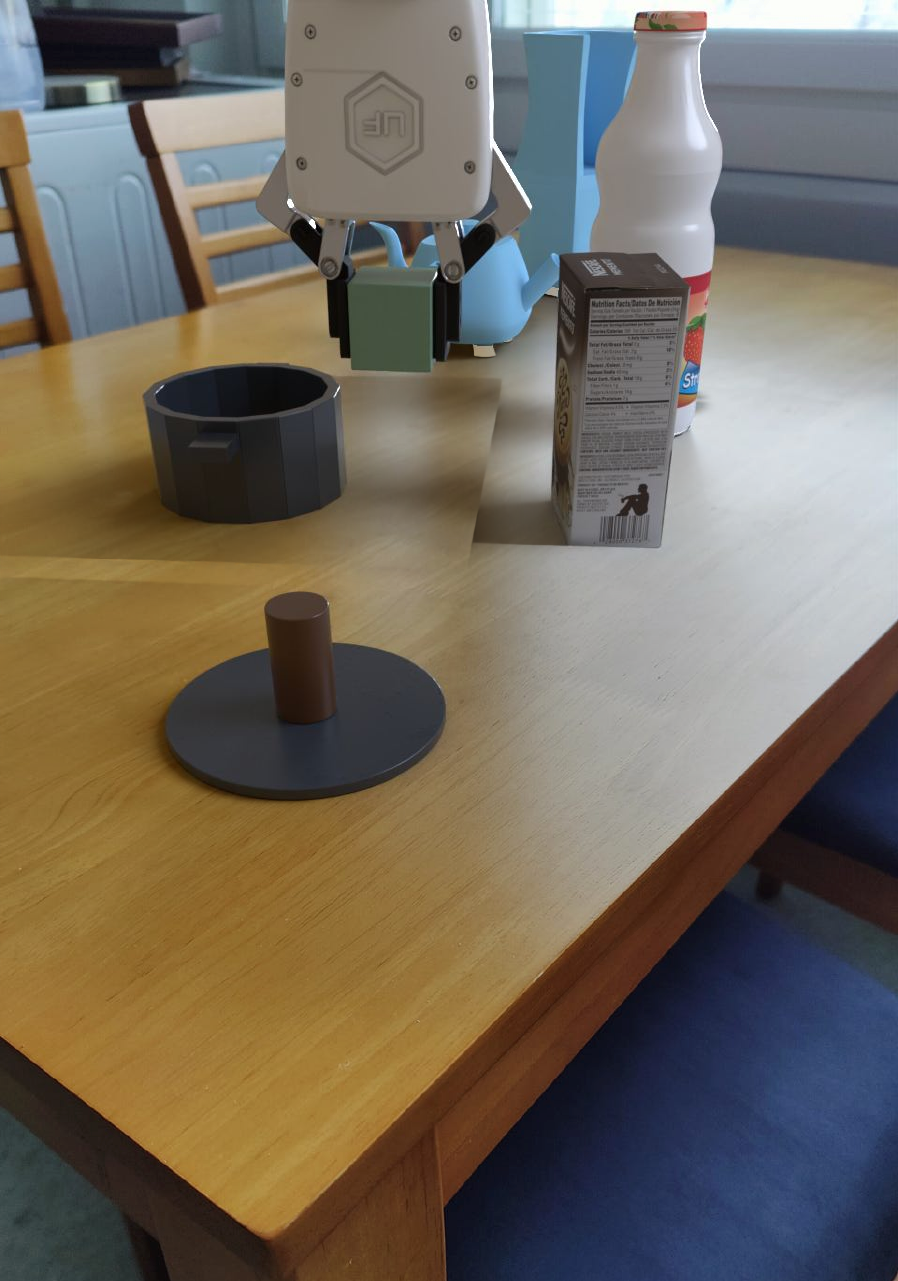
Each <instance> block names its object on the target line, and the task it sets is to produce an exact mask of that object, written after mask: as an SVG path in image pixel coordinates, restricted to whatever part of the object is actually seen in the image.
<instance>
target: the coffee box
mask: <svg viewBox="0 0 898 1281" xmlns="http://www.w3.org/2000/svg"><path fill="white" fill-rule="evenodd" d="M559 260H560V263H559V290H558V297H557V319H556V320H557V323H556V324H557V325H556V343H555V344H556V347H555V348H556V350H555V351H556V352H555V376H554V405H553V406H554V408H553V428H552V449H551V450H552V453H551V480H550V482H551V483H550V485H551V486H550V501H551V504H552V507H553V509H554V511H555V514H556V516H557V520H558V523H559V525H560V528H561V531H562V533H563V536H564V539H565V542H566V544H567V546H568V547H591V548H592V547H593V548H596V547H598V548H599V547H600V548H601V547H602V548H628V549H629V548H633V549H657V548H660V547H662V543H663V542H662V541H663V535H664V534H663V532H664V525H665V515H666V514H665V513H666V505H667V497H668V490H669V480H670V473H671V472H670V471H671V464H672V455H673V447H674V438H675V436H674V431H675V422H676V413H677V404H678V396H679V387H680V379H681V370H682V361H683V352H684V342H685V333H686V325H687V315H688V306H689V297H690V288H691V286H690V285H689V284H688V283H687V282H686V281H685V280H684V279H683V278H681V277H680V276H679V275H678V274H677V273H676V272H675V271H674V270H673V269H672V268H671V267H670V266H669V265H668V264H667V263H666V262H665V261H664V260H663V259H662V258H661V257H660V256H659V255H658V254H657V253H639V254H626V253H616V252H585V253H566V254H561V255H559Z"/></svg>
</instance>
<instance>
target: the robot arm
mask: <svg viewBox="0 0 898 1281" xmlns="http://www.w3.org/2000/svg"><path fill="white" fill-rule="evenodd" d="M286 8H287V9H286V10H287V11H286V24H285V43H284V44H285V46H284V48H285V49H284V142H285V143H284V150H283V151H282V153H281V154H280V157H279V159H278V160H277V162H276V163H275V166H274V168H273V170H272V171H271V173H270V175H269V176H268V177H267V178H268V179H267V180H266V182H265V183H264V185H263V188H262V189H261V191H260V193H259V195H258V196H257V198H256V199H255V209H256V211H257V213H258V214H259V215H261V217H263V218H264V219H265V220H267V221H268V222H269V223H270V224H272V225H273V226H274V227H276V229H277V230H280V232H282V233H283V234H286V235H287V236H288V237H290V239H291V240H292V242H293V243H294V244H295V245H296V246H297V247H298V248H299V249H300V250H301V251H302V252H303V253H304V254H305V256H306V257H307V258H308V259H309V260H310V261H311V262H312V263H313V264H314V265H315V266H316V268H317V269H318V272H319V274H320V276H321V277H323V279H325V280H326V282H325V283H326V299H327V322H328V334H329V335H328V336H329V338H331V339H338V340H339V341H338V342H339V357H340V359H350V360H351V356H350V332H349V309H348V283H349V282H350V280H351V279H352V278H353V276H354V275H355V274H356V272H357V269H356V268H355V267H354V260H353V259H352V258H351V252H352V251H351V250H352V246H353V239H354V233H355V227H356V222H357V221H370V222H376V221H377V222H415V223H431V228H432V233H433V235H434V238H435V243H436V247H437V252H438V257H439V262H440V264H439V266H438V268H437V278H436V280H435V282H434V284H433V359H436V361H435V362H438V363H440V362H442V363H445V362H446V361H447V358H448V355H449V352H450V349H451V343H450V342H460V340H461V330H462V278H463V277H464V275H465V274H466V273H467V272H468V271H469V270H470V269H471V268H472V267H473V266H474V265H475V264H476V263H477V262H478V261H479V260H480V259H481V258H482V257H483V256H484V255H485V253H486V252H487V251H488V250H489V249H490V248H491V247H492V246H493V245H494V244H495V243H497V242H498V241H499V240H501V239H503V238H504V237H505V236H507V235H510V234H511V233H513V232H514V231H515V230H516V229H517V228H519V226H520V225H522V224H523V223H524V222H526V221H527V219H528V218H529V216H530V213H531V204H530V202H529V200H528V198H527V197H526V195H525V193H524V191H523V190H522V188H521V186H520V185H519V183H518V181H517V180H516V178H515V176H514V175H513V173H512V168H510V166H509V164H508V163H507V161H506V159H505V157H504V155H503V154H502V152H501V151H500V149H499V148H498V146H497V144H496V142H495V140H494V139H495V138H494V137H495V136H494V133H495V132H494V128H495V127H494V126H495V125H494V87H493V86H494V85H493V82H494V81H493V63H492V62H493V61H492V46H491V31H490V19H489V10H488V2H487V0H287V7H286ZM490 193H492V195H493V197H494V199H495V200H496V202H497V207H496V208H495V209H494V210H493V211H492V212H490V214H488V215H487V216H486V217H484V218H483V219H482V220H479V221H480V222H478V223H477V224H476V225H475V226H474V228H473V229H472V230H471V231H470V232H469V233H468V234H467V235H466V236H465V237H464V232H463V227H462V222H461V221H462V220H465V219H470V218H471V219H472V218H473V217H475V216H477V215H478V214H479V213H481V211H483V209H484V208H485V206H486V205H487V202H488V200H489V196H490ZM315 218H317V219H324V225H321V224H320V223H319V221H317V220H316V219H315Z"/></svg>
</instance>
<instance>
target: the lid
mask: <svg viewBox="0 0 898 1281" xmlns="http://www.w3.org/2000/svg"><path fill="white" fill-rule="evenodd" d="M263 612H264V619H265V621H264V622H265V629H266V637H267V645H268V646H267V647H265V648H261V649H258V650H257V649H256V650H253V651H250V652H247V653H244V654H240V655H238V656H234V657H232V658H230V659H227V660H224V661H222V662H220V663H218V664H216V665H214V666H212V667H211V668H209V669H207V670H205V671H203V672H202V673H200V674H199V675H197V676H196V677H195V678H193V679H192V680H191V681H189V682H188V683H187V684H186V685H185V686H184V687H183V688H182V689H181V690H180V691H179V692H178V693H177V695H176V696H175V697H174V699H173V701H172V702H171V704H170V706H169V709H168V711H167V713H166V718H165V735H166V740H167V744H168V746H169V750H170V752H171V753H172V755H173V756H174V758H175V760H176V761H177V763H179V764H180V766H181V767H182V768H184V770H185V771H187V772H188V773H189V774H191V775H192V776H193V777H195V778H197V779H199V780H200V781H202V782H204V783H206V784H207V785H210V786H212V787H215V788H217V789H219V790H222V791H226V792H229V793H233V794H235V795H236V794H237V795H241V796H246V797H250V798H251V797H252V798H257V799H266V800H279V801H281V800H282V801H285V800H287V801H288V800H289V801H290V800H291V801H292V800H293V801H297V800H298V801H300V800H315V799H316V800H317V799H322V798H331V797H337V796H341V795H346V794H351V793H356V792H358V791H359V792H360V791H362V790H365V789H368V788H369V789H370V788H372V787H374V786H375V787H376V786H378V785H380V784H382V783H384V782H387V781H389V780H392V779H393V778H396V777H397V776H399V775H401V774H403V773H405V772H407V771H408V770H409V769H411V768H413V767H414V766H415V765H417V764H419V762H421V761H422V760H423V759H424V758H425V757H426V756H428V754H430V752H431V751H432V750H433V749H434V748H435V746H436V745H437V744H438V742H439V740H440V738H441V737H442V735H443V733H444V729H445V726H446V721H447V703H446V700H445V699H446V698H445V695H444V692H443V690H442V688H441V686H440V685H439V683H438V682H437V680H436V679H435V678H434V677H433V676H432V675H431V674H430V673H429V672H428V671H427V670H425V668H423V667H421V666H420V665H418V664H417V663H415V662H413V661H412V660H409V659H407V658H406V657H403V656H401V655H398V654H396V653H394V652H391V651H387V650H385V649H380V648H377V647H373V646H368V645H361V644H355V643H347V642H333V636H332V623H331V611H330V603H329V600H328V598H326V597H325V596H324V595H321V594H319V593H316V592H311V591H304V590H303V591H301V590H298V591H289V592H283V593H280V594H277V595H275V596H273V597H272V598H270V599H268V600H267V601H266V603H265V604H264V607H263Z"/></svg>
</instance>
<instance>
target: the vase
mask: <svg viewBox="0 0 898 1281" xmlns="http://www.w3.org/2000/svg"><path fill="white" fill-rule="evenodd" d="M634 32H635V30H631V31H630V30H605V29H604V30H600V29H565V30H549V31H530V32H529V31H528V32H523V33H522V40H523V48H524V51H525V59H526V68H527V82H528V84H527V85H528V104H527V105H528V106H527V113H526V119H525V124H524V129H523V133H522V137H521V140H520V143H519V145H518V146H519V147H518V150H517V153H516V155H515V158H514V161H513V164H512V167H511V171H512V173H513V175H514V176H515V178H516V180H517V181H518V183H519V185H520V186H521V188H522V190H523V191H524V193H525V195H526V197H527V198H528V200H529V202H530V204H531V213H530V216H529V218H528V219H527V221H526V222H524V223H523V224H522V225H520V226H519V227H518V243H517V245H518V247H519V250H520V253H521V255H522V258H523V261H524V263H525V266H526V270H527V273H528V277H529V279H530V278H531V277H532V276H533V275H534V274H535V272H536V271H537V270H538V269H539V268H540V267H541V266H542V265H543V263H544V262H545V261H546V260H547V259H548V258H549V257H550V255H551V254H552V253H554V254H557V255H558V256H559V255H561V254H566V253H585V252H588V251H589V242H590V235H591V229H592V225H593V222H594V220H595V217H596V215H597V213H598V209H599V203H600V196H599V190H598V185H597V179H596V171H595V163H596V155H597V149H598V145H599V142H600V139H601V137H602V135H603V134H604V132H605V130H606V129H607V127H608V126H609V124H610V123H611V122H612V120H613V119H614V118H615V116H616V115H617V113H618V112H619V110H620V108H621V106H622V104H623V101H624V99H625V96H626V94H627V91H628V88H629V85H630V82H631V78H632V75H633V72H634V67H635V63H636V57H637V42H636V41H634V36H635V34H634ZM552 287H555V288H559V279H558V280H557V281H556V282H555V284H554V285H553V286H552Z"/></svg>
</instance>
